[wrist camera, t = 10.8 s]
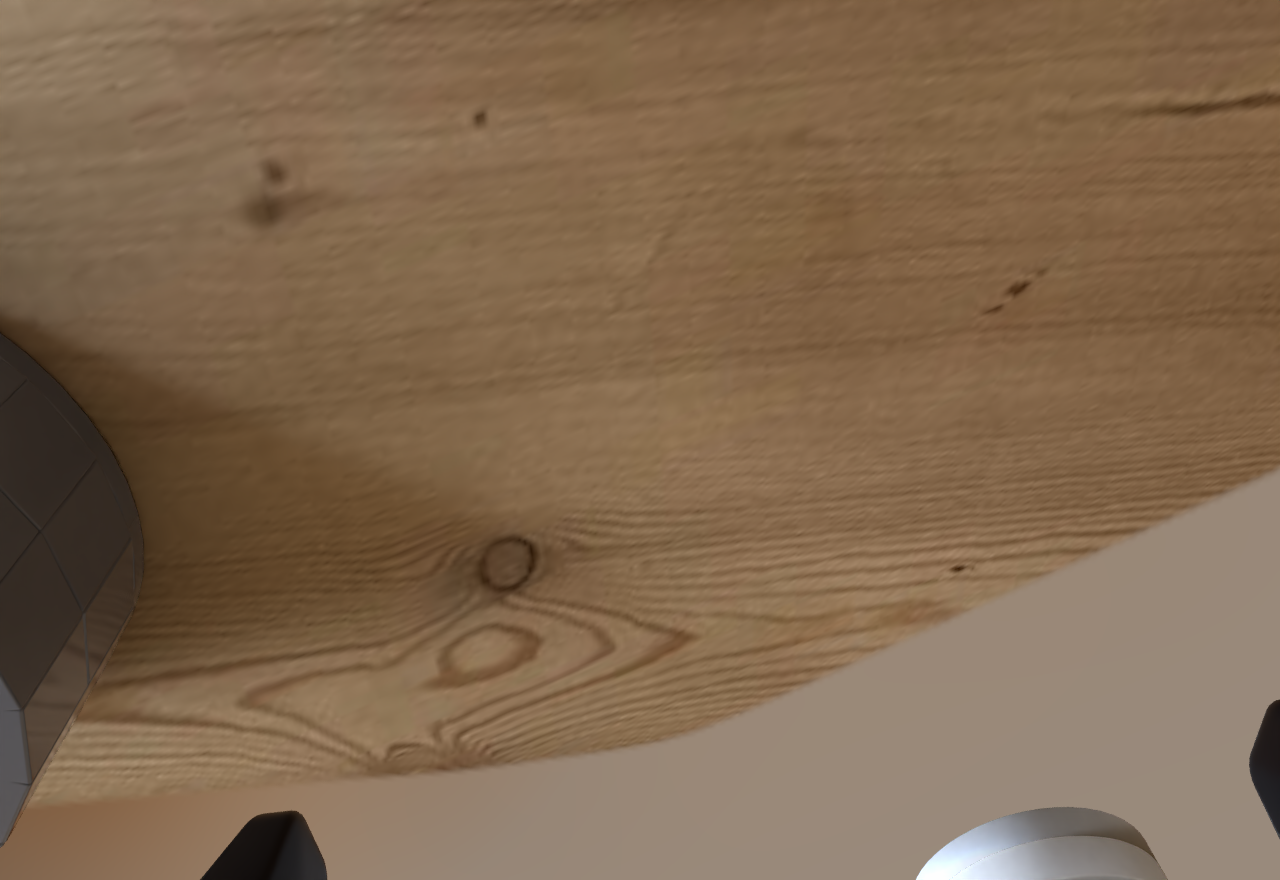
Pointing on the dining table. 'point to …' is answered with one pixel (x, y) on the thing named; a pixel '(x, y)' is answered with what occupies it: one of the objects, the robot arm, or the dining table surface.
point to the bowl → (55, 570)
